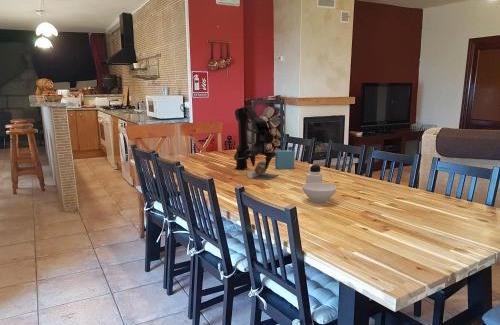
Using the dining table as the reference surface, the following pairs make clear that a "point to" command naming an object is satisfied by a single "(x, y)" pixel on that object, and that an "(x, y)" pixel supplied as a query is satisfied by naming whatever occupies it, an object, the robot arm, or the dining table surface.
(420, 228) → the dining table surface
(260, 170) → the block
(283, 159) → the data package
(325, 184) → the bowl
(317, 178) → the medicine bottle
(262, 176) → the mat
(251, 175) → the rail
